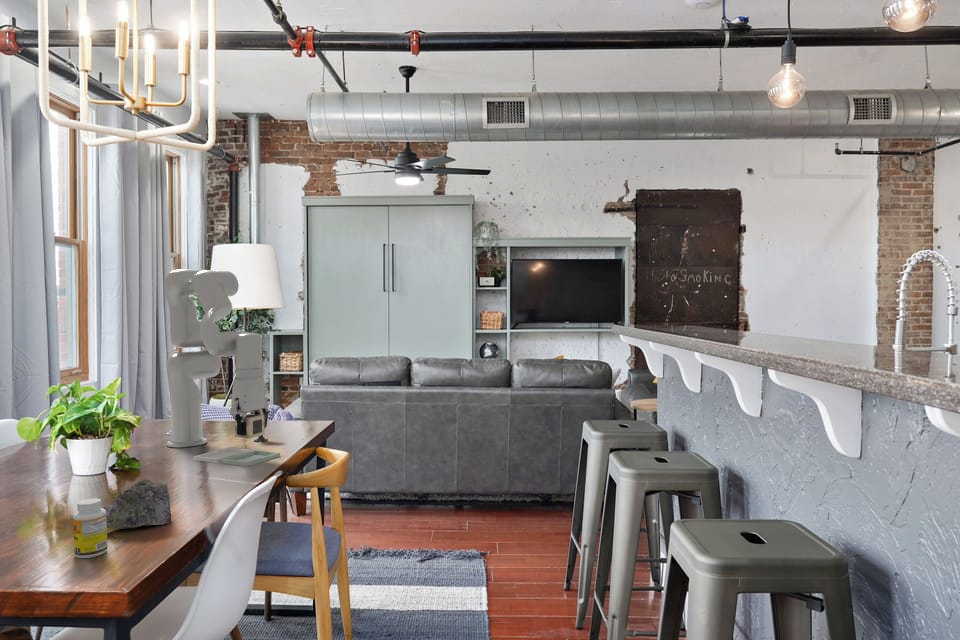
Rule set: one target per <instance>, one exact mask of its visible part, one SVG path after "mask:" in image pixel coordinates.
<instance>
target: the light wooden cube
mask: <svg viewBox="0 0 960 640" xmlns="http://www.w3.org/2000/svg"><path fill="white" fill-rule="evenodd" d="M240 416H241V417H242V414H241V415H240ZM244 422H246V435H237V422H236V421H235V420H234V437H236V438H237V437H238V438H243V439H244V438H245V439H253V438H257V437H259V436H261V435H263V436H264V435H265V434H266V433H265V429H264V415H258V414H250V413H247V414H246V418H245V421H244Z"/></svg>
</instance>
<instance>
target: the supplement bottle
mask: <svg viewBox="0 0 960 640" xmlns="http://www.w3.org/2000/svg"><path fill="white" fill-rule="evenodd" d="M76 505H77V507H76V509H77V511H76V512H74V513H73V515H72V523H73V524H72V531H73V549H74V551H73V552H74V556H75V557H76V558H78V559H91V558H96V557H99V556H102V555H104V553H106V552H107V551H108V530H107V529H108V528H107V519H106V510H105V509H103V508H104V507H102V500H101V499H100V498H87V499H82V500H80V501H78V502H77V504H76Z"/></svg>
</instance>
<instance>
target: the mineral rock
mask: <svg viewBox="0 0 960 640" xmlns="http://www.w3.org/2000/svg"><path fill="white" fill-rule="evenodd" d="M170 502H171V500H170V493H169V488H168V484H167V482H166V481H156V482H154V481H151V480H150V479H148V478H147V479H141V480H139V481H138V482H135V483H134V484H133V485H131V486H130V487H129V489H126V490H125V491H123V492H121V493H120V494H118V495H116V496H115V499H114V500H113V501H112V502H111V503H109V504H108V505H107V504H106V505H105V506H104V507H102V508H103V509H105V510H106V519H107V529H112V530H113V529H117V530H118V529H119V530H124V529H136V528H140V527H143V526H145V527H147V526H163V525H165V524H166V525H167V524H168V525H169V523H171V520H172V514H171V512H172V511H171V505H170V504H171V503H170Z"/></svg>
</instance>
